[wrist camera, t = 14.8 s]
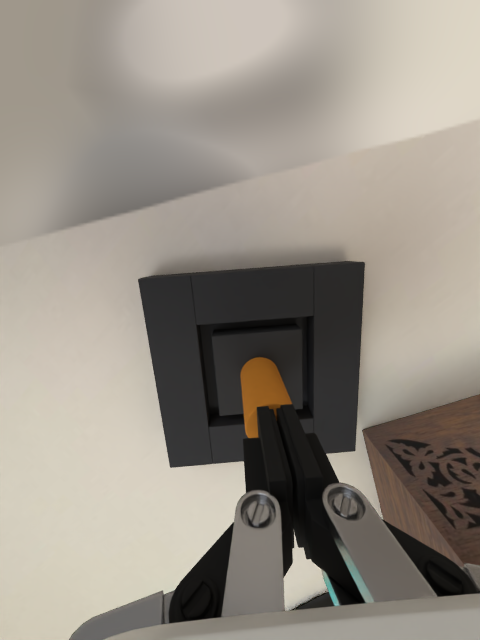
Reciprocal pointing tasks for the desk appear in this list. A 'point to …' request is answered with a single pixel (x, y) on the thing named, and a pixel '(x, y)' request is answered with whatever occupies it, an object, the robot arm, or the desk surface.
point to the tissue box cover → (432, 477)
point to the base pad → (253, 311)
